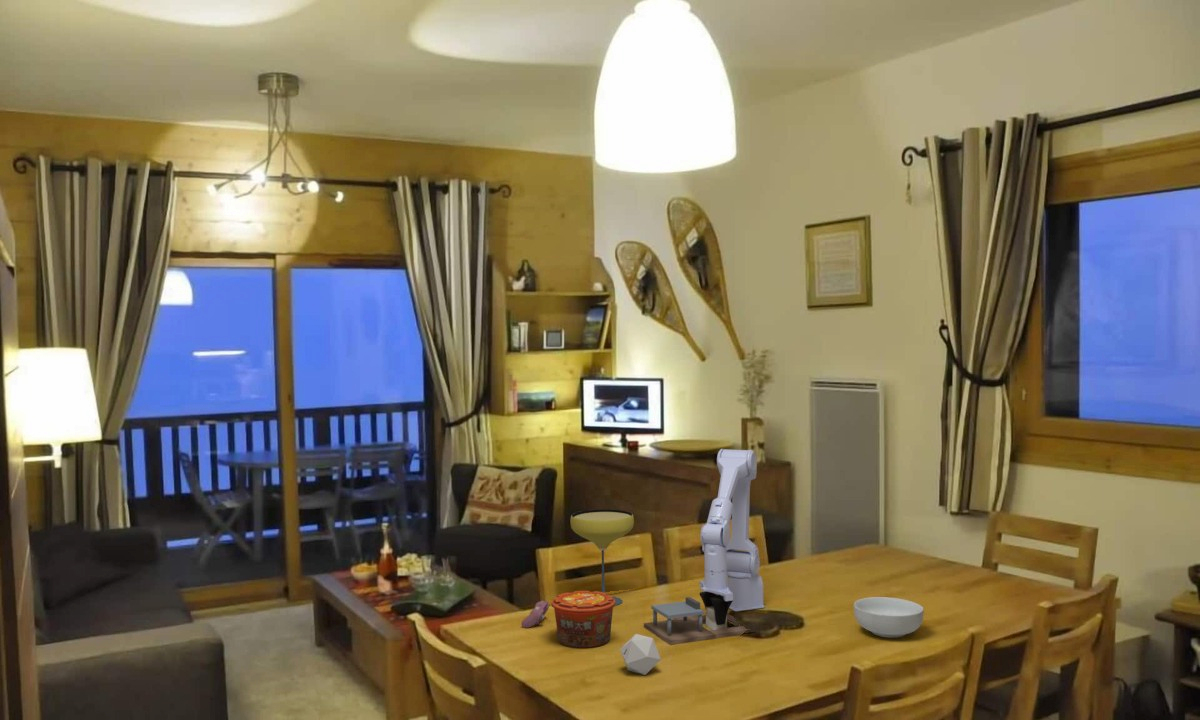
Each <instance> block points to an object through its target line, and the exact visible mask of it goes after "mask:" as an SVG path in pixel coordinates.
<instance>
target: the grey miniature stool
mask: <svg viewBox="0 0 1200 720" xmlns="http://www.w3.org/2000/svg"><path fill="white" fill-rule="evenodd" d="M684 599H685V600H684V601H678V602H677V601H676V602H668V603H661V604H653V605H651V607H650V608H651V609H652V617H653V618H652V620H653V621H652V622H653V625H657V621H658V614H659V615H661V616H662V617H664V618H666V620H667V633H668V634H672V632H671V620H672V619H673V618H679V617H683V621H687V616H694V615H698V630H702V627H703V624H702V615H705V611H704V610H703V609H701V602H700V601H698V600H696V599H694V598H693V597H691V596H687V597H685V598H684Z"/></svg>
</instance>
